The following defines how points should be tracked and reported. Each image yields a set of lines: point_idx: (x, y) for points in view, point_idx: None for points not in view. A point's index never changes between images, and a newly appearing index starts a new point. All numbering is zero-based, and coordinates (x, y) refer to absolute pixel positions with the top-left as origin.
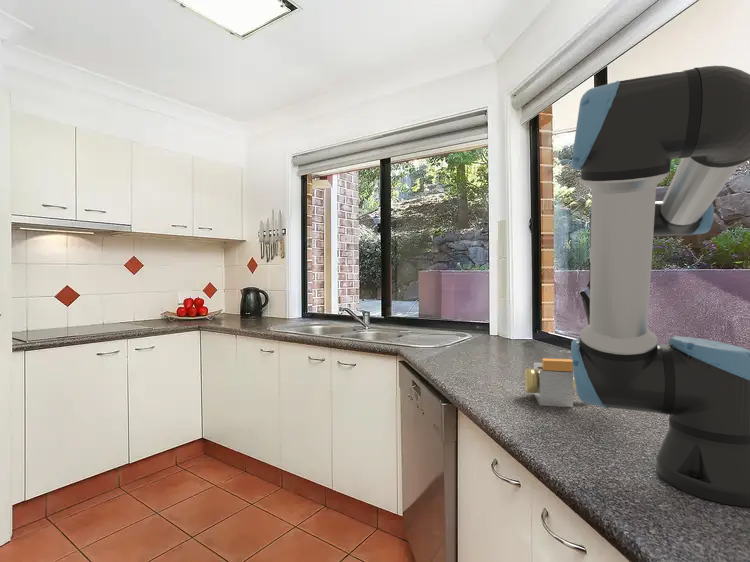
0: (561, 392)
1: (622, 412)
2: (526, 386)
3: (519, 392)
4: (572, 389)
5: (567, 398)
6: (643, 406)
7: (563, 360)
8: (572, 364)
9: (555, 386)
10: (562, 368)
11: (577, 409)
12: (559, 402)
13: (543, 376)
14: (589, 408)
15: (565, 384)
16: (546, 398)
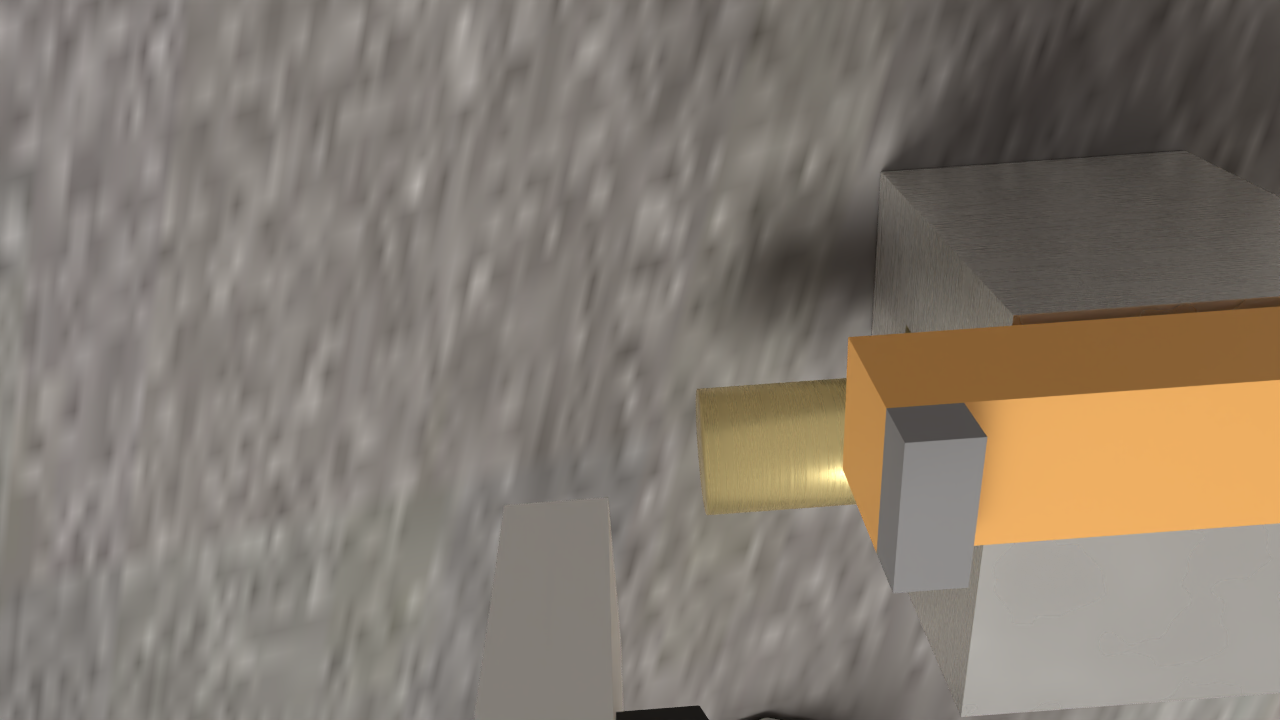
0: (1045, 207)
1: (457, 138)
2: None
3: None
4: (944, 228)
5: (959, 195)
6: None
7: (1199, 442)
8: (1069, 373)
9: (1140, 225)
10: (1179, 329)
11: (856, 120)
12: (1020, 174)
13: None
14: (734, 180)
15: (1040, 245)
16: (1160, 176)
